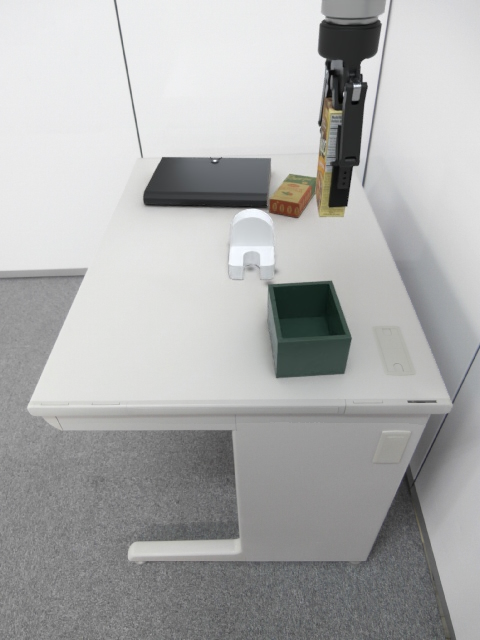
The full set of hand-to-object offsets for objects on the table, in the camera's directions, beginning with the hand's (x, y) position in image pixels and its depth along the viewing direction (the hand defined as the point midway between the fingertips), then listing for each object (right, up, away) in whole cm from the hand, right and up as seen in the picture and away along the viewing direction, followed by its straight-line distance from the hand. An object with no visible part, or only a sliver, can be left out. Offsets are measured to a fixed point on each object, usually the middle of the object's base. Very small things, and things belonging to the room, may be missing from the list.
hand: (331, 190), depth 69 cm
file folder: (-22, +18, +57) cm, 64 cm away
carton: (0, +11, +50) cm, 51 cm away
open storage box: (-3, -25, +10) cm, 27 cm away
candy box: (0, -2, +2) cm, 2 cm away
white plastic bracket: (-11, -6, +32) cm, 34 cm away
